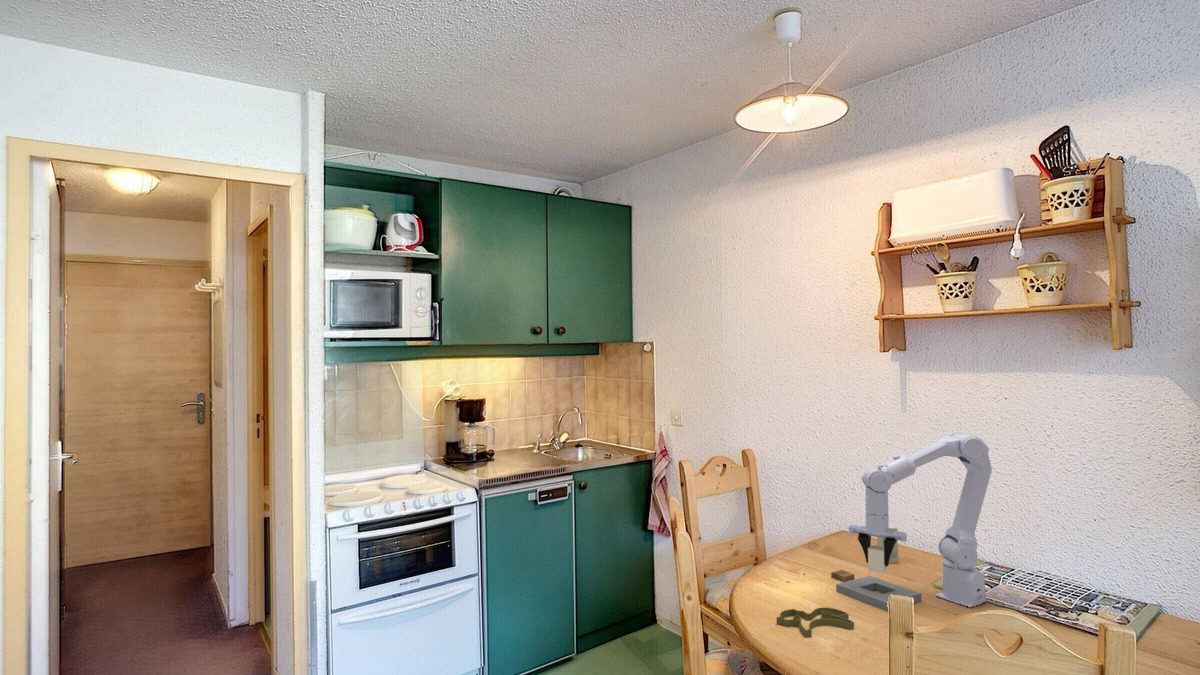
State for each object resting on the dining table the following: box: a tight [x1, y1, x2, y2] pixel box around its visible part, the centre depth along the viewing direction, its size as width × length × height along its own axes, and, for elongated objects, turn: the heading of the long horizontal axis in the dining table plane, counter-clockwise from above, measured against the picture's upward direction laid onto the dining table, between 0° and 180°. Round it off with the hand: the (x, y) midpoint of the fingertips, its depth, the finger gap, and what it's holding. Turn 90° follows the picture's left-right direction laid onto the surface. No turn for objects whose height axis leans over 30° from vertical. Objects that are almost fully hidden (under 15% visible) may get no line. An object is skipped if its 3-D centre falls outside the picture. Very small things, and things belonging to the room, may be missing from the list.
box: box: [876, 524, 899, 564], centre depth 204 cm, size 5×4×11 cm
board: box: [835, 575, 922, 612], centre depth 174 cm, size 16×14×2 cm
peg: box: [867, 544, 888, 574], centre depth 174 cm, size 4×4×6 cm
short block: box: [830, 569, 855, 583], centre depth 187 cm, size 4×4×2 cm
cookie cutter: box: [776, 607, 855, 638], centre depth 156 cm, size 18×12×2 cm, turn 110°
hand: (877, 563), depth 174 cm, fingers closed on peg, 4 cm apart
